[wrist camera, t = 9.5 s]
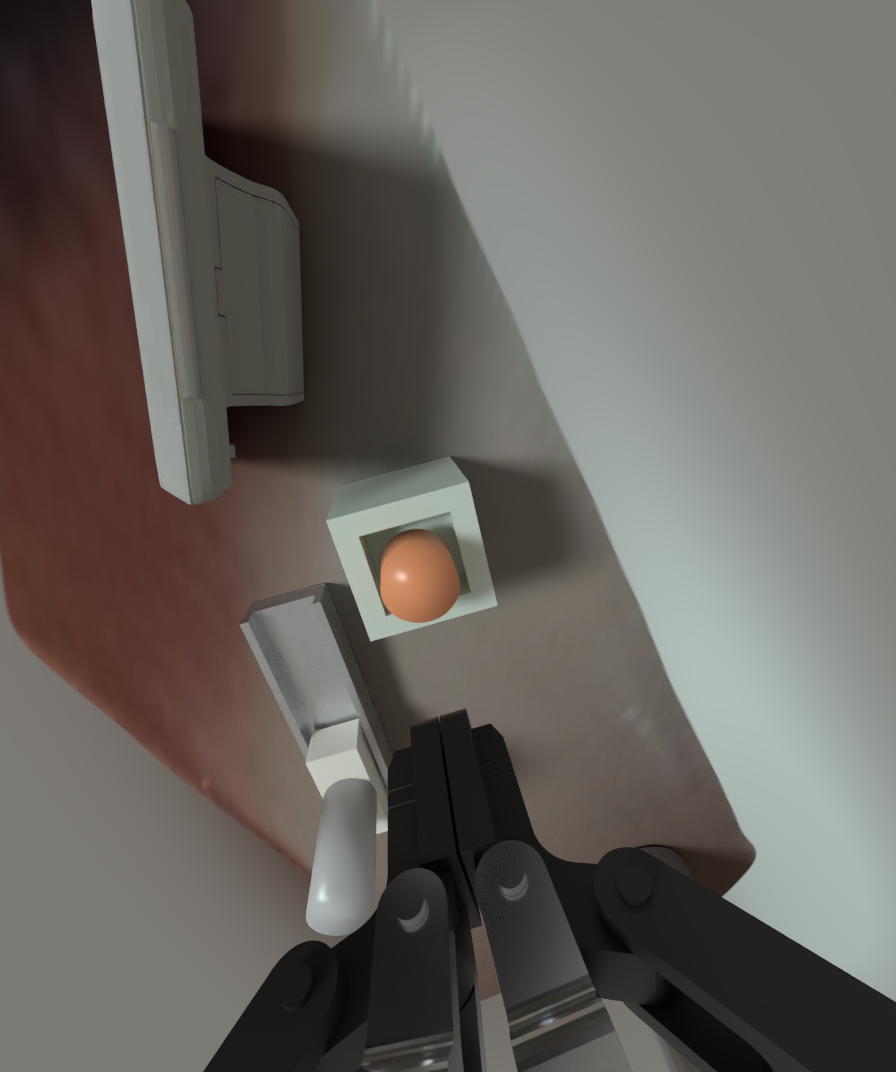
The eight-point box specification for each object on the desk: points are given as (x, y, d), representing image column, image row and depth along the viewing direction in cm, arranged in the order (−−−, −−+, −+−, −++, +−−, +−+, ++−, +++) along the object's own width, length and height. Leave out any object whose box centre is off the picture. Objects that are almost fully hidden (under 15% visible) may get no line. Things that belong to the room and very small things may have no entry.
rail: (396, 765, 36) (397, 795, 33) (336, 783, 36) (332, 814, 33) (325, 582, 30) (320, 601, 27) (251, 602, 30) (239, 624, 27)
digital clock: (148, 92, 20) (-75, -169, 11) (345, 168, 22) (313, 8, 12) (127, 439, 25) (-39, 482, 15) (291, 477, 27) (236, 538, 17)
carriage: (392, 796, 35) (393, 946, 26) (346, 809, 34) (332, 965, 25) (360, 717, 32) (349, 856, 23) (310, 732, 32) (279, 877, 22)
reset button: (458, 582, 24) (467, 610, 21) (392, 601, 24) (393, 631, 21) (441, 520, 22) (449, 541, 20) (372, 539, 22) (370, 563, 19)
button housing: (473, 555, 30) (497, 605, 24) (374, 583, 30) (370, 641, 24) (449, 456, 28) (468, 481, 21) (340, 485, 28) (326, 520, 21)
